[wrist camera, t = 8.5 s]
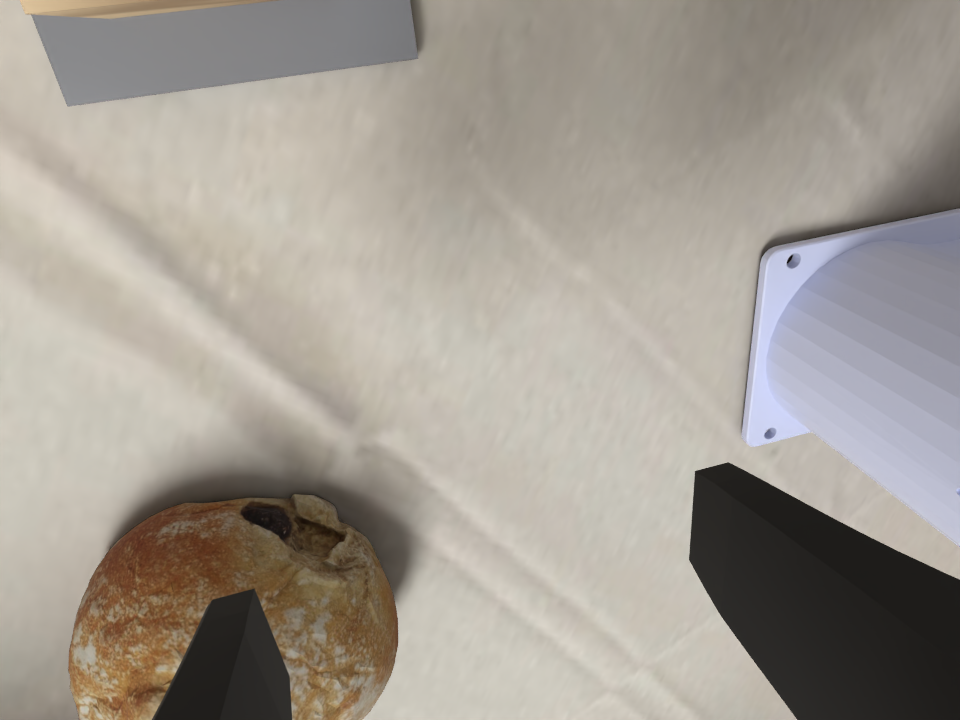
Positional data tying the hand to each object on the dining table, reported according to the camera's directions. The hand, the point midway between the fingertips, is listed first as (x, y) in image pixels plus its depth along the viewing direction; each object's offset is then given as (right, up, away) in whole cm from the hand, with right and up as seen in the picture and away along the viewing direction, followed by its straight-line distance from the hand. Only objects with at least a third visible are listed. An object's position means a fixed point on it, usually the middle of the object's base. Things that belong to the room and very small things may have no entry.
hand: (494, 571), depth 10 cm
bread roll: (-9, -5, +13) cm, 16 cm away
